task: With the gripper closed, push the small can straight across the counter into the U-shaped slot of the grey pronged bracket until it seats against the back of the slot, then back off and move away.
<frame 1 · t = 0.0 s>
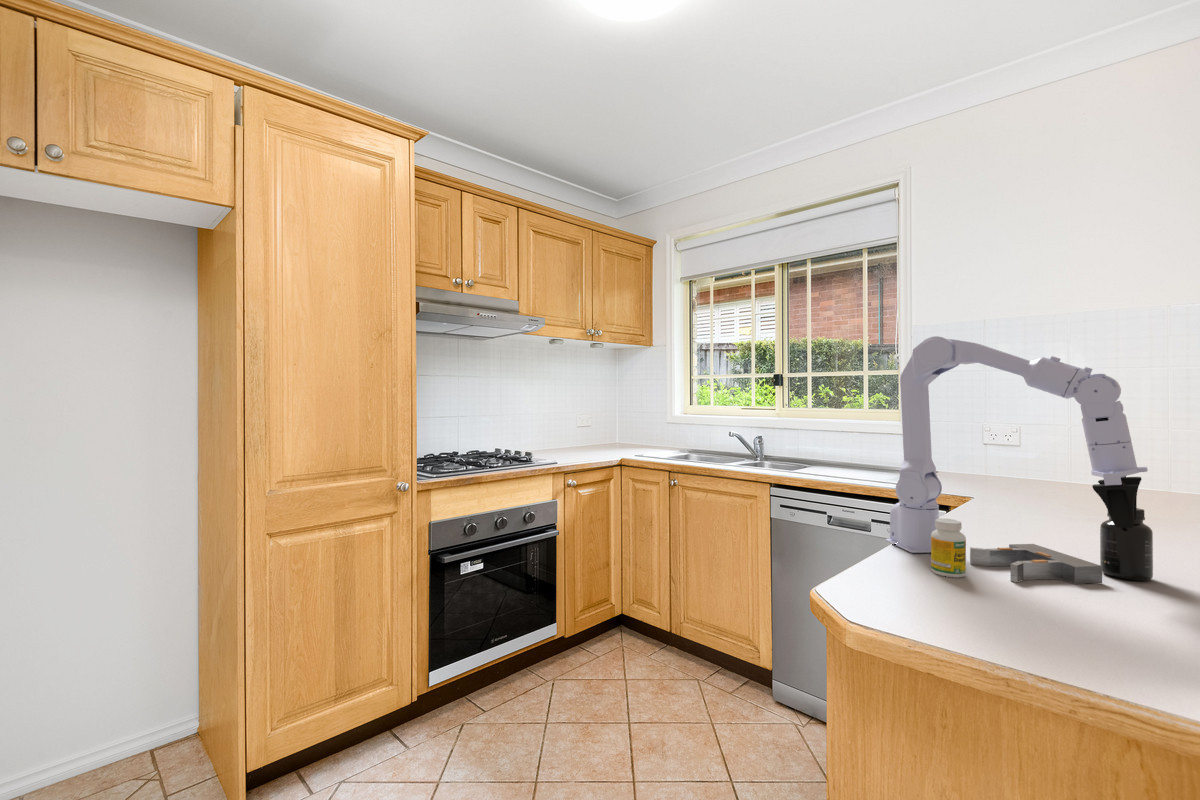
hand: (1126, 523, 94), 11 cm above the worktop, tool pointing down, fingers open, 7 cm apart
supplement bottle: (1125, 576, 99), on the worktop, touching gripper
grey pronged bracket: (1021, 571, 102), on the worktop
supplement bottle 2: (948, 574, 101), on the worktop
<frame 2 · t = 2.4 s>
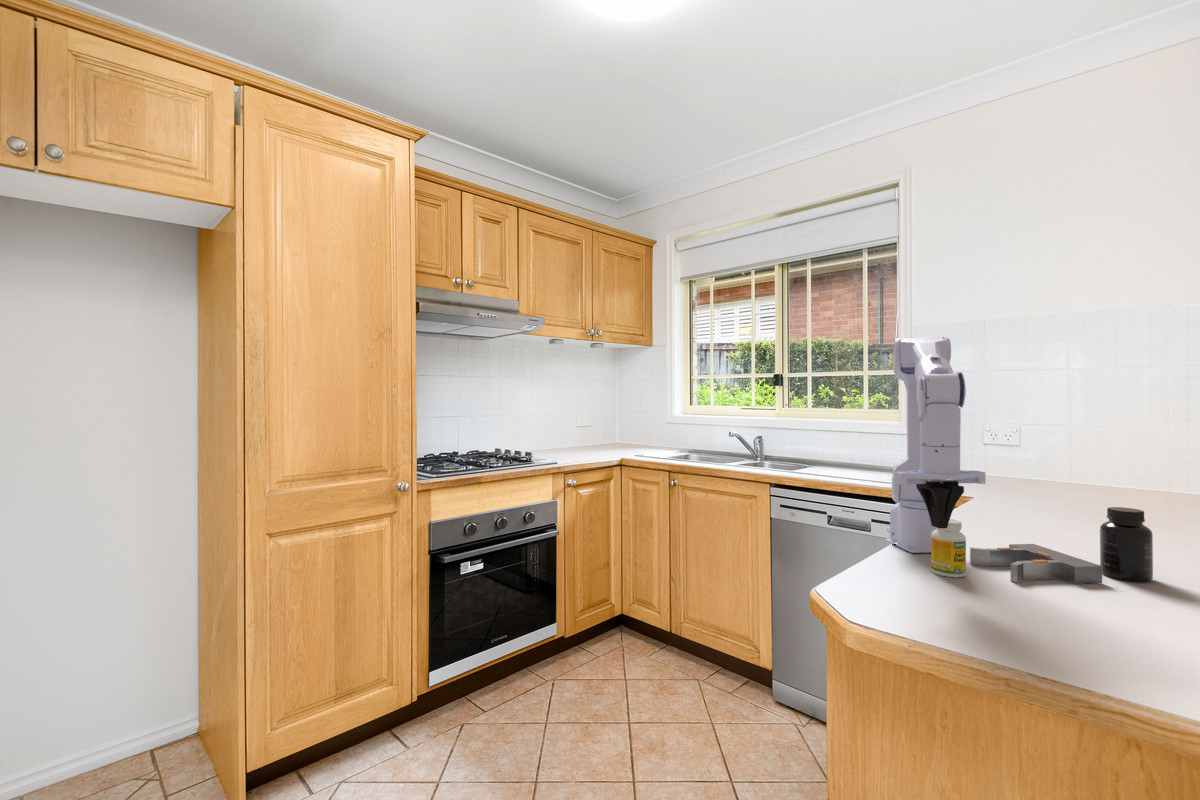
hand: (939, 527, 93), 10 cm above the worktop, tool pointing down, fingers closed
supplement bottle: (1125, 578, 99), on the worktop
everything else where it was.
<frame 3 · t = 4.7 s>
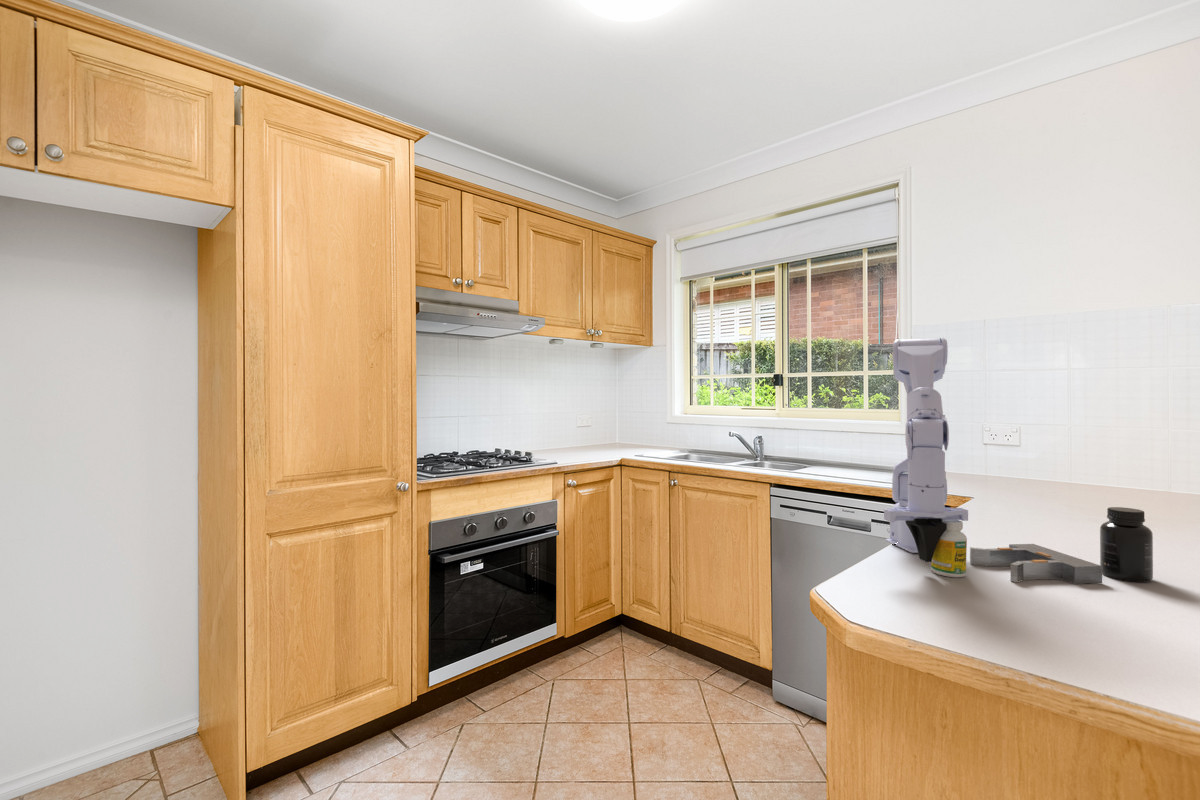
hand: (925, 560, 100), 2 cm above the worktop, tool pointing down, fingers closed
supplement bottle 2: (948, 574, 101), on the worktop, touching gripper
everything else where it was.
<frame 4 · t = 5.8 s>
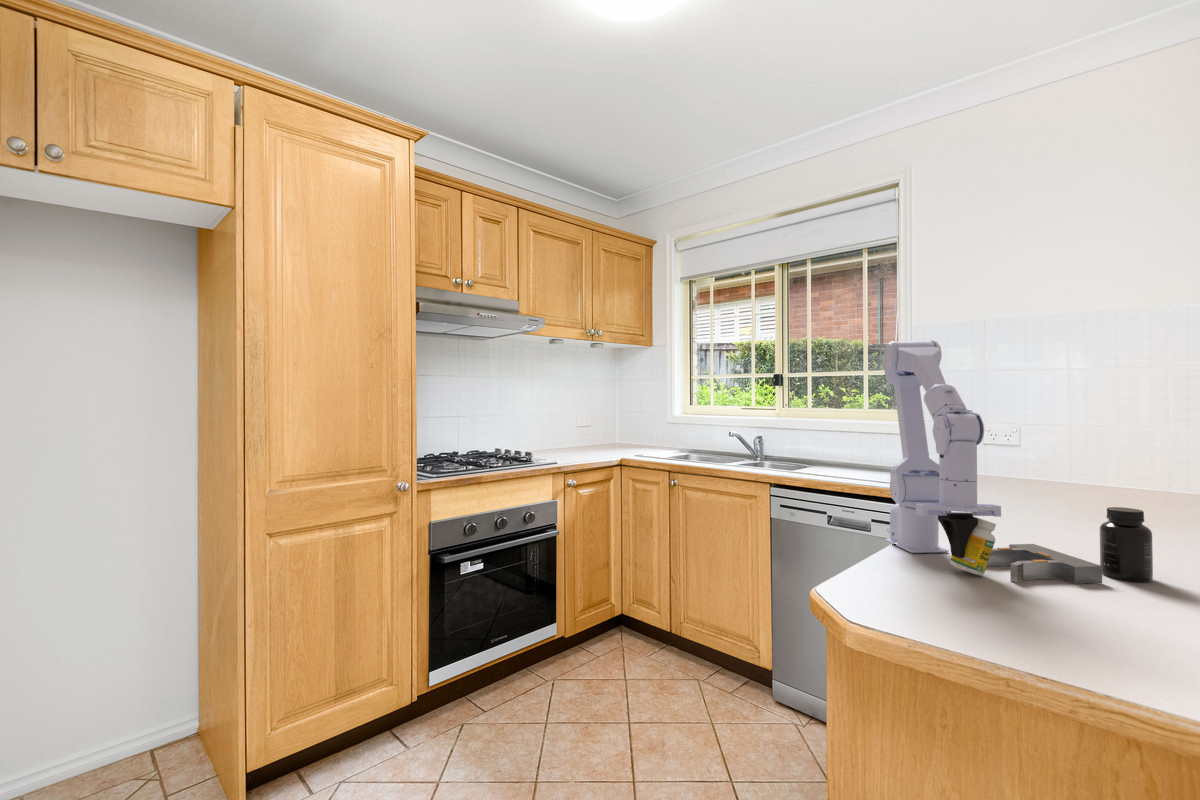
hand: (958, 556, 99), 3 cm above the worktop, tool pointing down, fingers closed, pressing on supplement bottle 2
supplement bottle 2: (965, 570, 100), point 1 cm above the worktop, touching gripper
everything else where it was.
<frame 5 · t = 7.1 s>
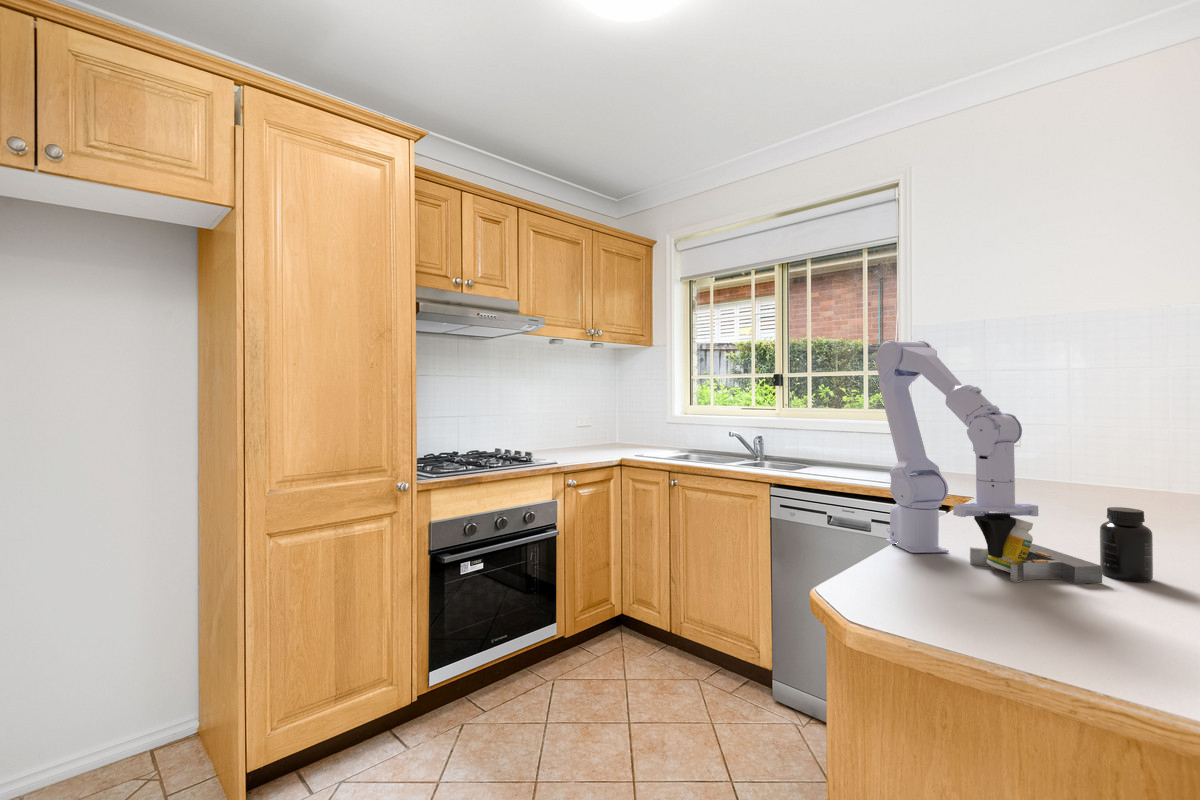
hand: (996, 556, 100), 3 cm above the worktop, tool pointing down, fingers closed, pressing on supplement bottle 2
supplement bottle 2: (1002, 570, 101), on the worktop, touching gripper
everything else where it was.
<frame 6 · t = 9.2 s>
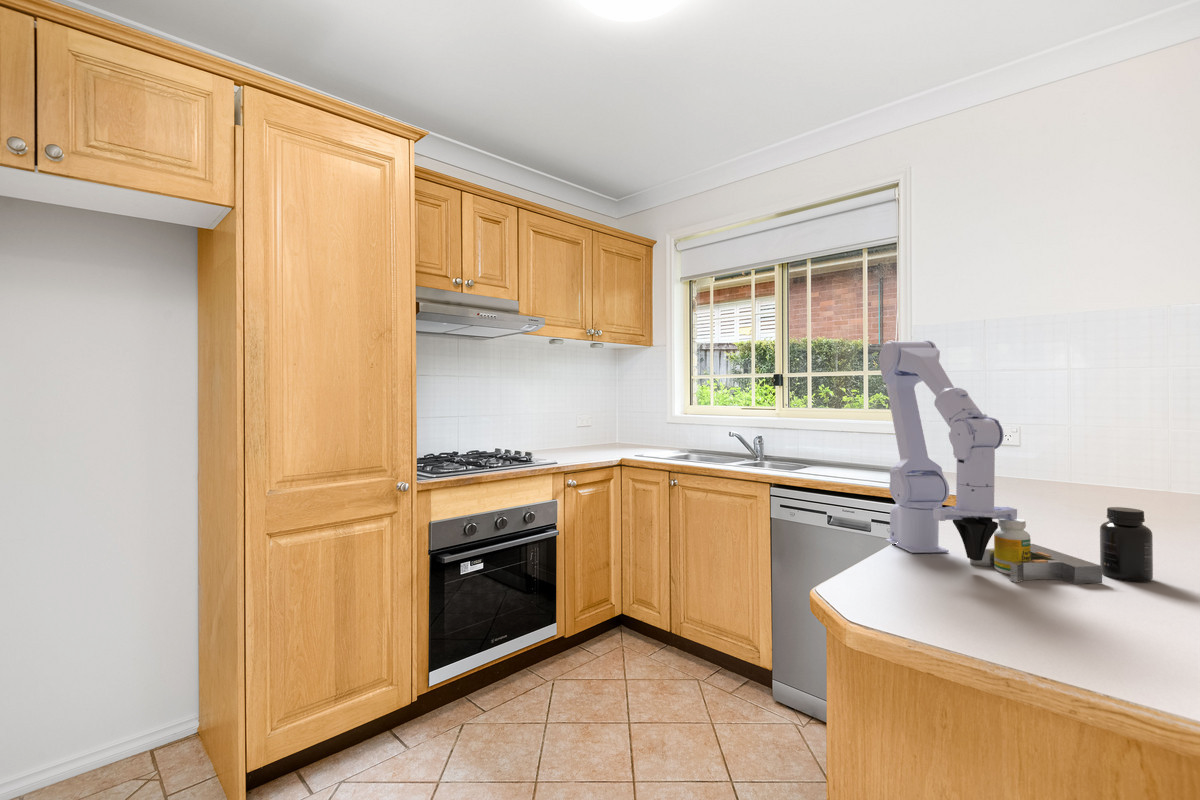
hand: (974, 559, 101), 2 cm above the worktop, tool pointing down, fingers closed
supplement bottle 2: (1012, 572, 102), on the worktop
everything else where it was.
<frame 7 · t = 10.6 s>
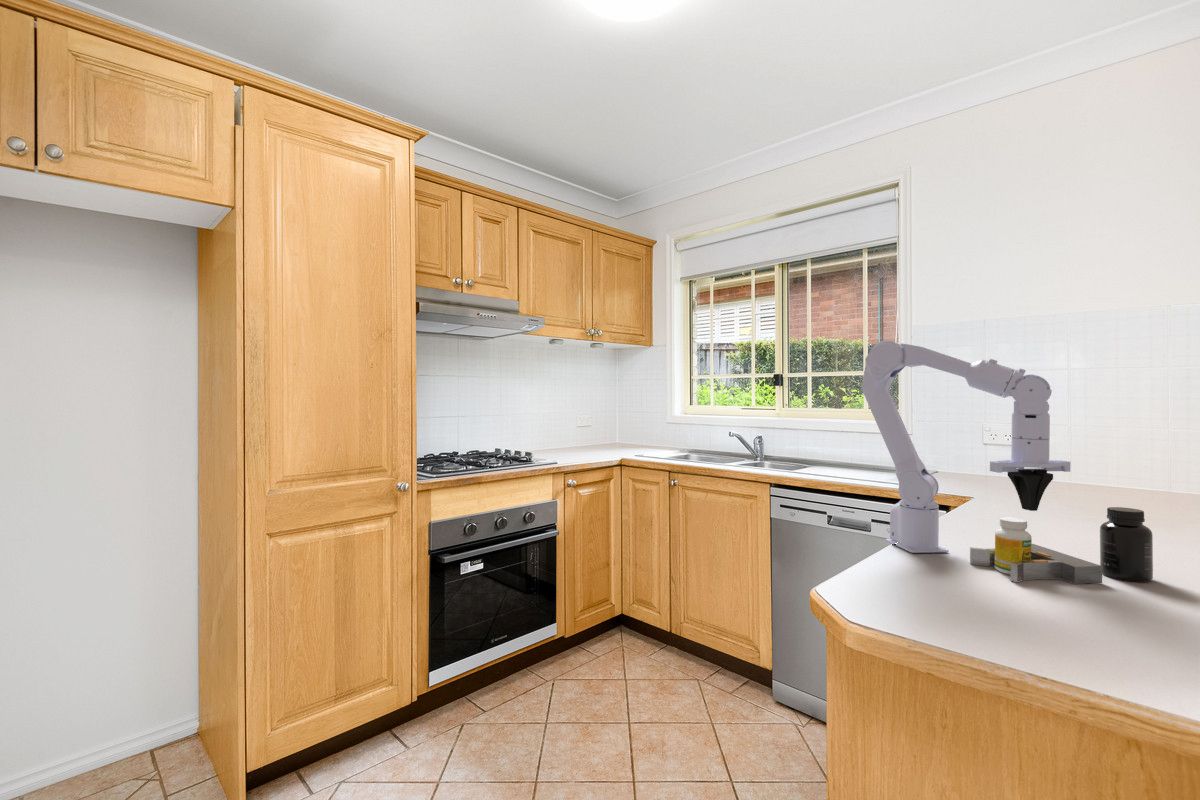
hand: (1029, 509, 106), 10 cm above the worktop, tool pointing down, fingers closed
nothing on the worktop moved.
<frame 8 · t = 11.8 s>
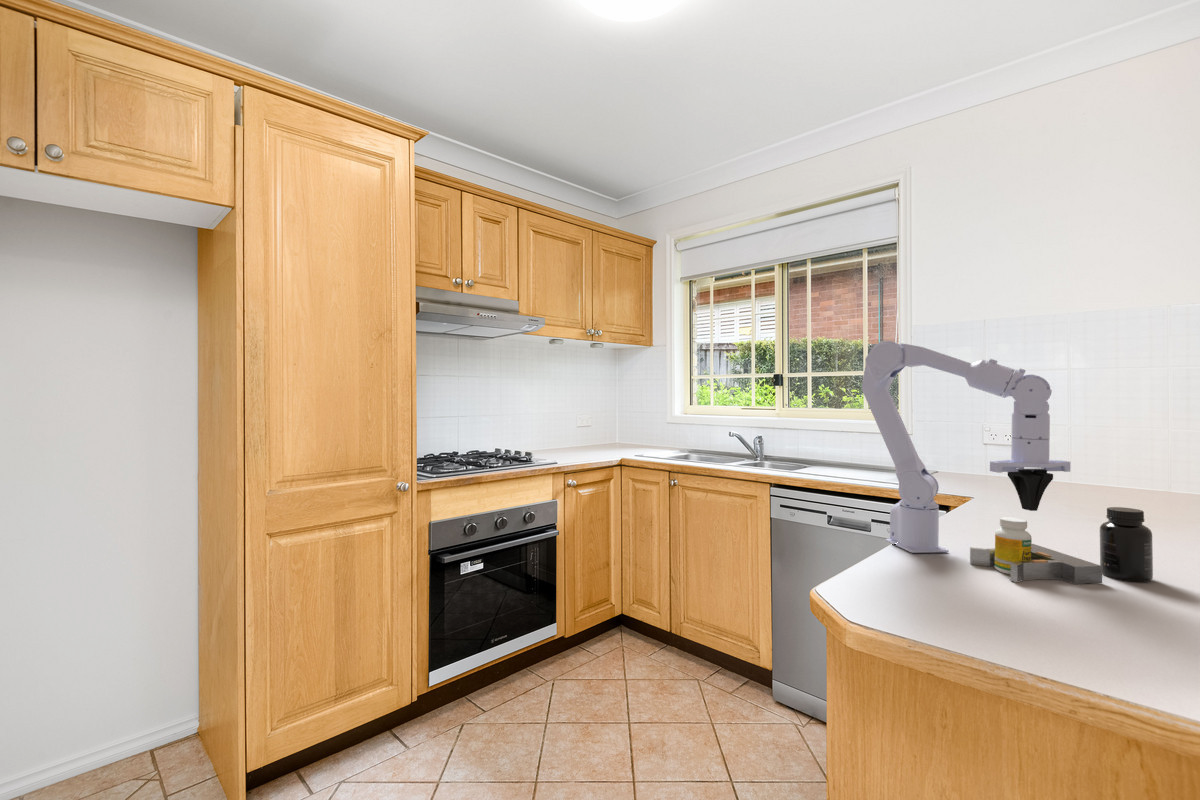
hand: (1029, 509, 106), 10 cm above the worktop, tool pointing down, fingers closed
nothing on the worktop moved.
at the end: supplement bottle 2 1.2 cm off-centre on the grey pronged bracket, point 0.0 cm above the grey pronged bracket's base; supplement bottle 2 tilted 1° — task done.
